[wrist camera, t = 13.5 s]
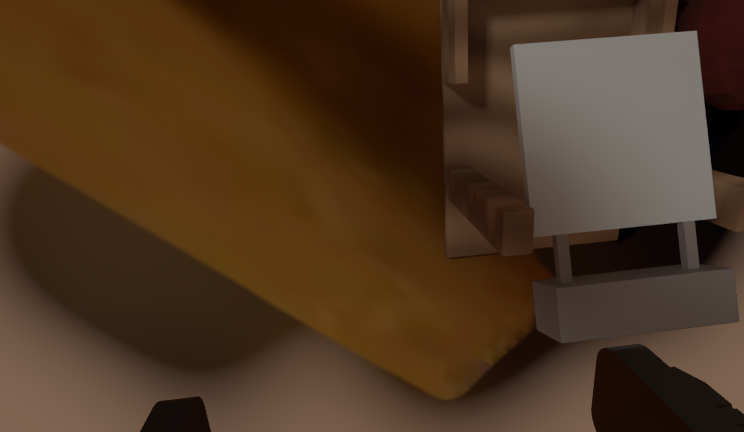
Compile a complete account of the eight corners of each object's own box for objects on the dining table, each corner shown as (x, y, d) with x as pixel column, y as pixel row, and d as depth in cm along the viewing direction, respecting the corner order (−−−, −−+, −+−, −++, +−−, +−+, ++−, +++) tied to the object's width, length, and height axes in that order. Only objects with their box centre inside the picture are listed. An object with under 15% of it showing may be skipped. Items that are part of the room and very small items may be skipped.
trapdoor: (502, 56, 31) (522, 35, 28) (674, 42, 32) (714, 20, 28) (530, 330, 31) (553, 344, 28) (702, 310, 32) (746, 321, 28)
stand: (439, -30, 36) (510, -98, 22) (644, -43, 37) (841, -116, 23) (445, 255, 44) (500, 342, 30) (613, 237, 46) (744, 313, 31)
